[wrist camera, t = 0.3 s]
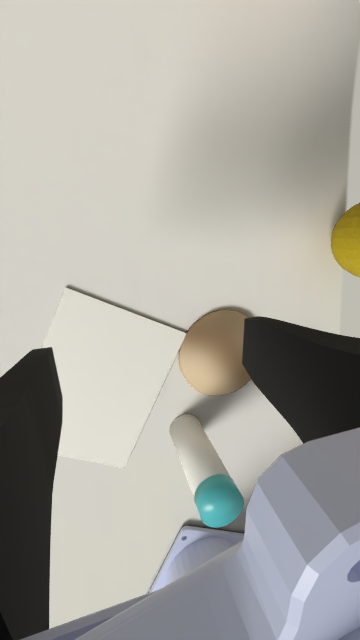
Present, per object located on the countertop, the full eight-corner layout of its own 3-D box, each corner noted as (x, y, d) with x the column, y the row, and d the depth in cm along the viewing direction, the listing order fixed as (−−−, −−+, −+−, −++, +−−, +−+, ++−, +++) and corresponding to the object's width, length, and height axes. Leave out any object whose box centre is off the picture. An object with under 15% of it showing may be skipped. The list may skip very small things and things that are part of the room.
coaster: (238, 402, 26) (240, 404, 26) (164, 379, 24) (165, 381, 24) (275, 328, 25) (278, 329, 25) (202, 296, 23) (204, 297, 23)
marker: (192, 445, 26) (231, 530, 19) (163, 438, 25) (192, 524, 18) (205, 418, 26) (251, 493, 18) (177, 410, 25) (213, 486, 17)
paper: (124, 466, 25) (124, 468, 25) (4, 442, 22) (3, 444, 22) (185, 332, 23) (186, 333, 23) (65, 286, 20) (65, 287, 20)
